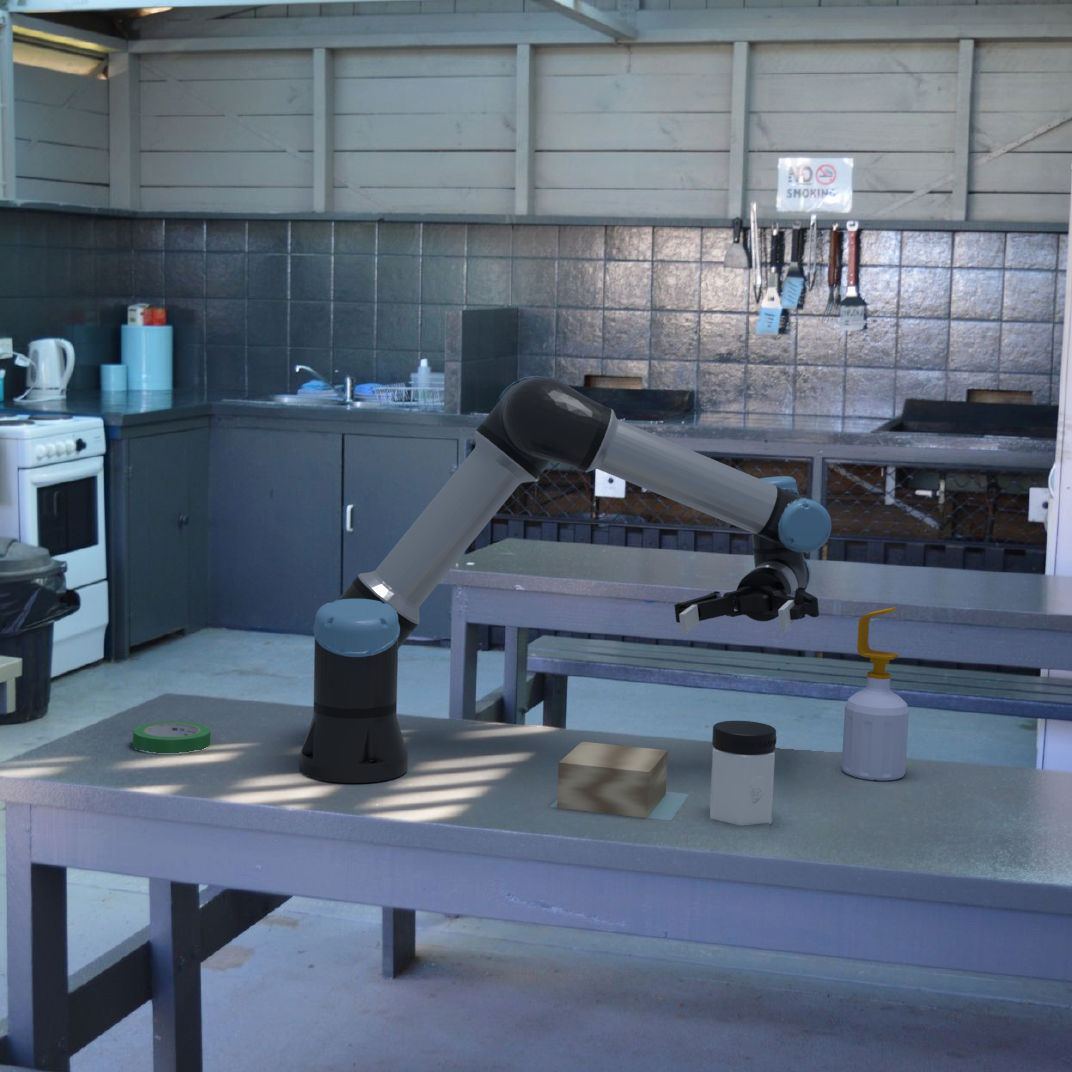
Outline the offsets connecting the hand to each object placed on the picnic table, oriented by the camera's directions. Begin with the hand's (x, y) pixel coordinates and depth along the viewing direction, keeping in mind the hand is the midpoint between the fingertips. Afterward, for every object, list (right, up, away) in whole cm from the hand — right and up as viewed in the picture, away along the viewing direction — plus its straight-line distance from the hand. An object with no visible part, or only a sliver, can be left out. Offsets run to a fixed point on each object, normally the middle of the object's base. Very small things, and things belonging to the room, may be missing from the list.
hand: (731, 622), depth 198 cm
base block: (-16, -24, -1) cm, 29 cm away
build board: (-15, -24, -1) cm, 28 cm away
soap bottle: (+23, -23, +19) cm, 38 cm away
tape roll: (-80, -20, +21) cm, 85 cm away
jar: (0, -25, -6) cm, 26 cm away
